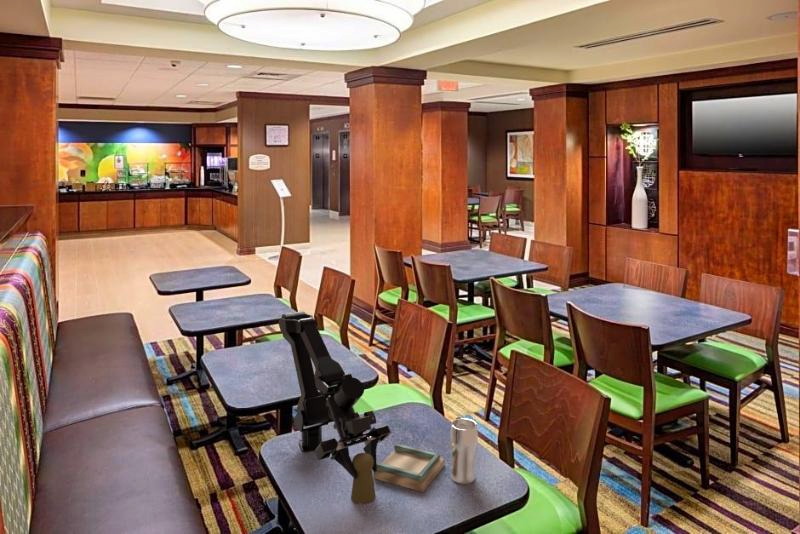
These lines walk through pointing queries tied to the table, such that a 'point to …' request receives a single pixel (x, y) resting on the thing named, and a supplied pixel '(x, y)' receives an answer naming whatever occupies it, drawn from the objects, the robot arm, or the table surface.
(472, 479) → the silver metal tumbler
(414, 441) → the table surface
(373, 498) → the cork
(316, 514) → the table surface
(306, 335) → the robot arm
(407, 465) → the dock
